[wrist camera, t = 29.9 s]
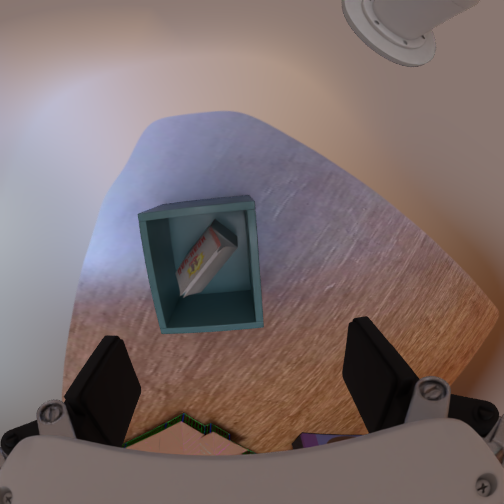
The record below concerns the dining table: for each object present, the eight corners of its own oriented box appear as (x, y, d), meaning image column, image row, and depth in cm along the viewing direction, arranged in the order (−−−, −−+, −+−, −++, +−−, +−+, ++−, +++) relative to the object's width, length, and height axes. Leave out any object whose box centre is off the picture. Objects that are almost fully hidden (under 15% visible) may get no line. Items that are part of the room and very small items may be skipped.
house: (269, 448, 49) (273, 476, 41) (179, 482, 54) (177, 503, 46) (192, 403, 44) (188, 436, 36) (112, 445, 48) (104, 468, 40)
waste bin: (162, 204, 34) (137, 213, 25) (249, 195, 35) (254, 200, 25) (177, 298, 38) (161, 334, 29) (256, 292, 39) (263, 327, 29)
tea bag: (237, 236, 35) (238, 258, 26) (206, 274, 37) (196, 308, 27) (215, 218, 35) (207, 234, 25) (184, 258, 36) (167, 286, 26)
